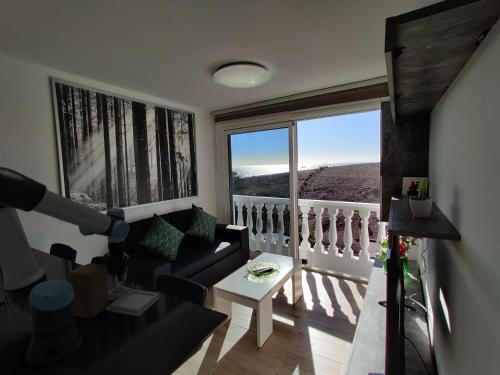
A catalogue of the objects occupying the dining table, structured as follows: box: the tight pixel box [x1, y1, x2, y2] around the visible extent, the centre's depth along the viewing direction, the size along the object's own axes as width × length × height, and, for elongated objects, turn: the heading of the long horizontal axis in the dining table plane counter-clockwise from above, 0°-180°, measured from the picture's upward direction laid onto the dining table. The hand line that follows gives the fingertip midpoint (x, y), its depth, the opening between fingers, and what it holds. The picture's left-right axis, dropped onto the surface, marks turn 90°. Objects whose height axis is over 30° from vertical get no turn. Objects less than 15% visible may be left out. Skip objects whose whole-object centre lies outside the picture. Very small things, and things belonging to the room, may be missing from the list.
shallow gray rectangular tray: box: [105, 288, 160, 317], centre depth 116 cm, size 15×17×3 cm
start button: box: [113, 286, 124, 294], centre depth 123 cm, size 4×4×3 cm
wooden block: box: [69, 263, 109, 320], centre depth 109 cm, size 10×10×20 cm
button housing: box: [108, 286, 132, 302], centre depth 123 cm, size 8×8×3 cm
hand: (118, 287), depth 123 cm, fingers closed
